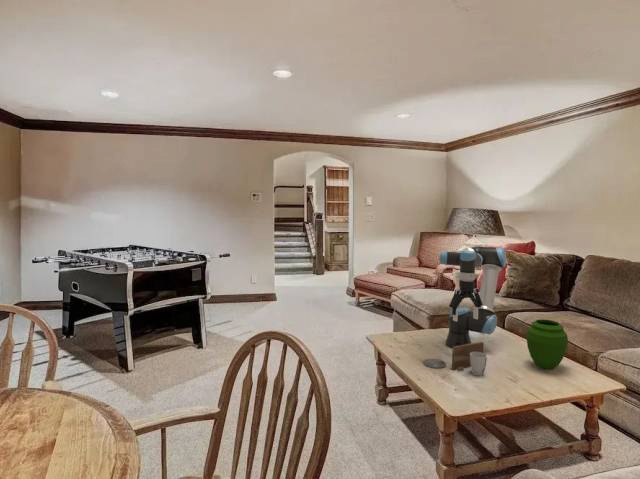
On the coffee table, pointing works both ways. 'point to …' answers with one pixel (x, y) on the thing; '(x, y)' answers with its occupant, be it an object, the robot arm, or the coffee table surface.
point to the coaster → (434, 363)
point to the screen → (464, 355)
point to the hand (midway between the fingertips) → (465, 319)
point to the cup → (478, 362)
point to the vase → (546, 343)
